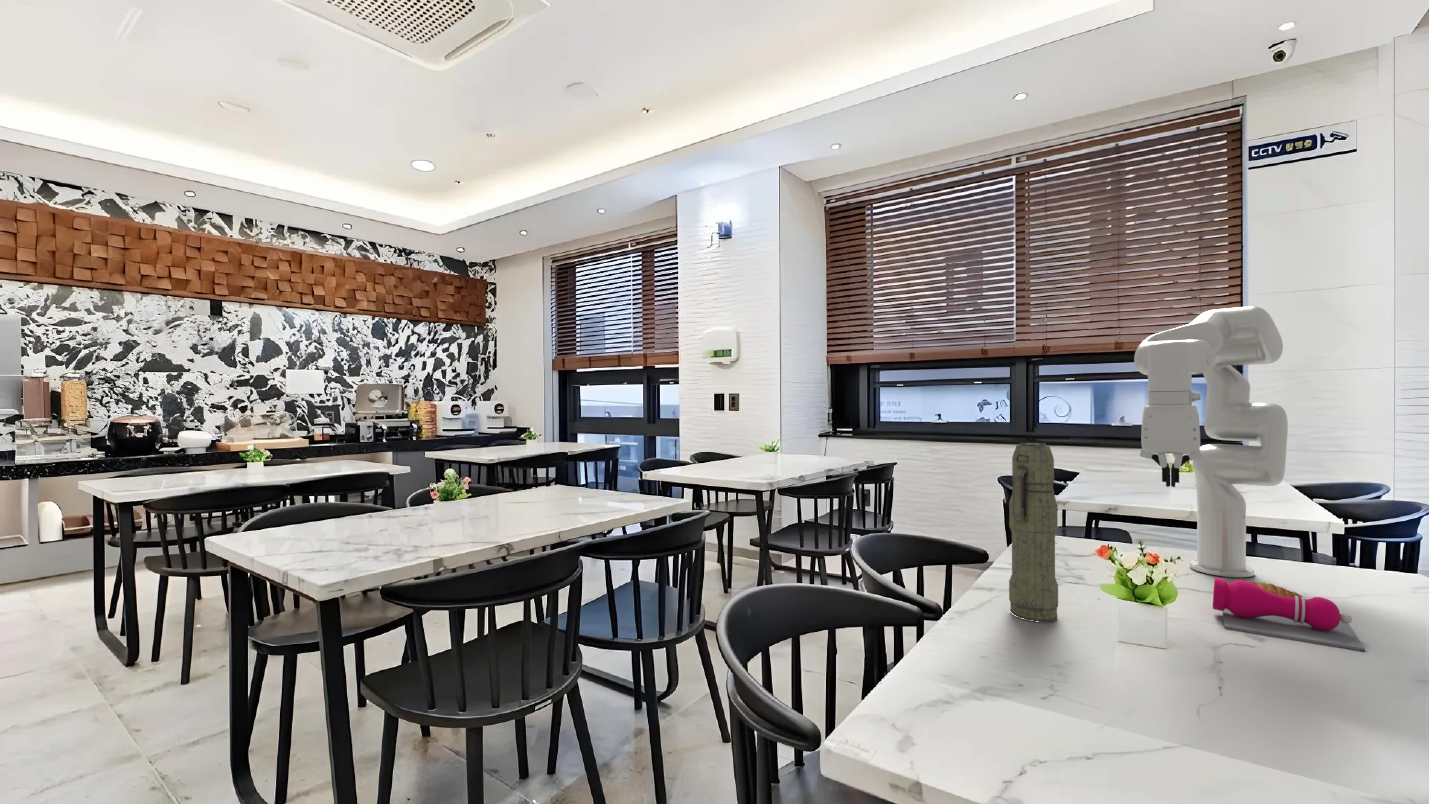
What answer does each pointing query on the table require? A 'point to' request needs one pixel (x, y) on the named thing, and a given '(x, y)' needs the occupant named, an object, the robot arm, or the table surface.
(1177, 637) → the table surface
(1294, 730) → the table surface
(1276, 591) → the pastry
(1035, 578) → the thermos
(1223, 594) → the pepper mill
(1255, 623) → the mat
